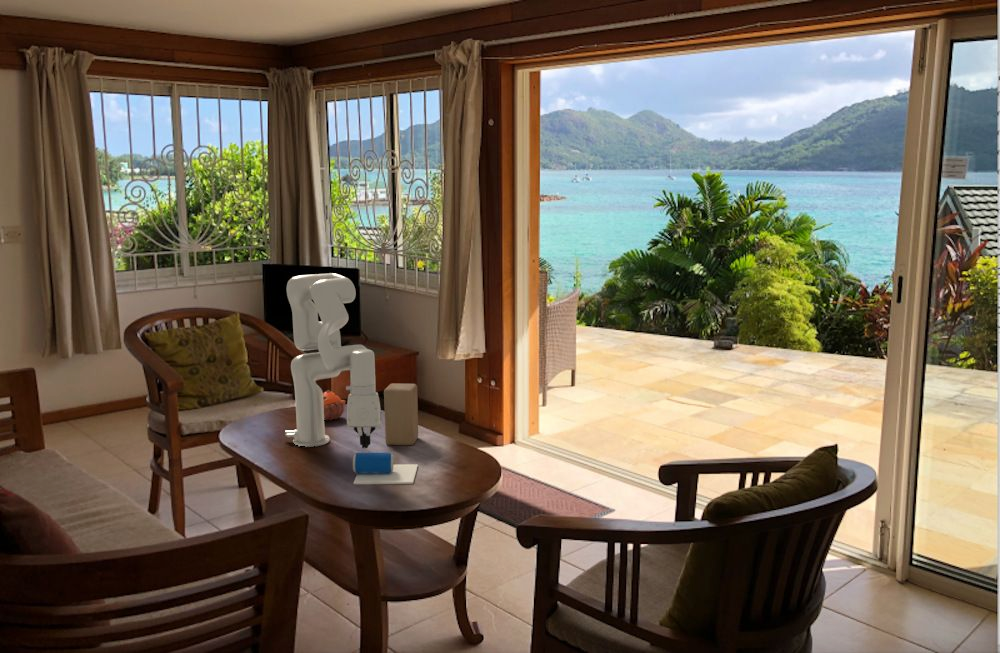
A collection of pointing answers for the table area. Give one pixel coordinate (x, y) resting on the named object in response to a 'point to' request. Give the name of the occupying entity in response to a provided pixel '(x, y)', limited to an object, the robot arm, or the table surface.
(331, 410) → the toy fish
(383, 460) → the beverage can
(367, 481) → the mat
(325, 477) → the table surface
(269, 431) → the table surface
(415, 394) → the wooden block
